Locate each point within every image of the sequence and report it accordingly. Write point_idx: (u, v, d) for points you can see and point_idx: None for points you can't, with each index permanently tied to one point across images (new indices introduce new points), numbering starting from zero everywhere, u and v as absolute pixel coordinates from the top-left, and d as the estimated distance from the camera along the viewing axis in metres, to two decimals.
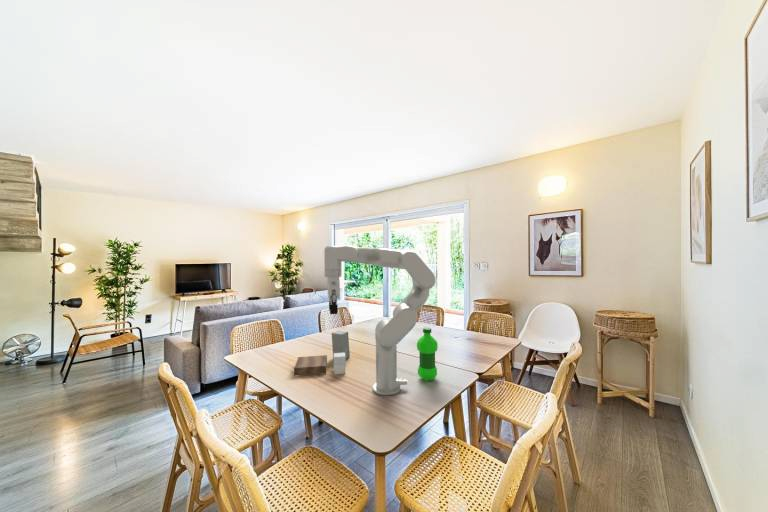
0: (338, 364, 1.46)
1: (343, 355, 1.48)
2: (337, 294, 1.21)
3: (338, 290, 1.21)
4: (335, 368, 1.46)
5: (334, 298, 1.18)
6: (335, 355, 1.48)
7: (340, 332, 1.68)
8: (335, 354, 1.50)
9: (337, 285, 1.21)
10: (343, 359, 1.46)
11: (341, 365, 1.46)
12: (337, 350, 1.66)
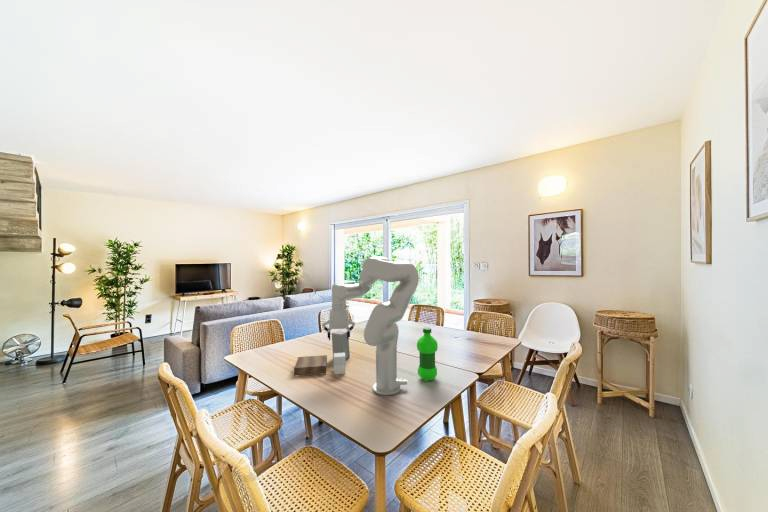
0: (338, 364, 1.46)
1: (343, 355, 1.48)
2: None
3: None
4: (335, 368, 1.46)
5: None
6: (335, 355, 1.48)
7: (340, 332, 1.68)
8: (335, 354, 1.50)
9: None
10: (343, 359, 1.46)
11: (341, 365, 1.46)
12: (337, 350, 1.66)
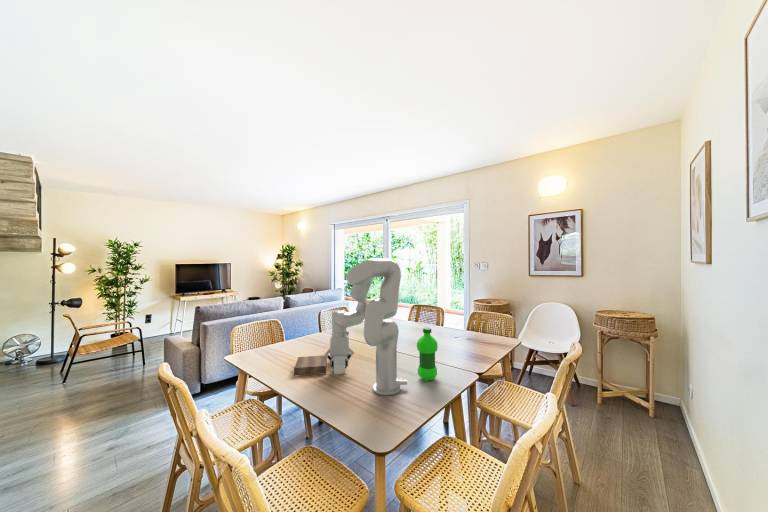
0: (338, 364, 1.46)
1: None
2: None
3: None
4: (335, 368, 1.46)
5: None
6: None
7: None
8: None
9: None
10: (343, 359, 1.46)
11: (341, 365, 1.46)
12: None
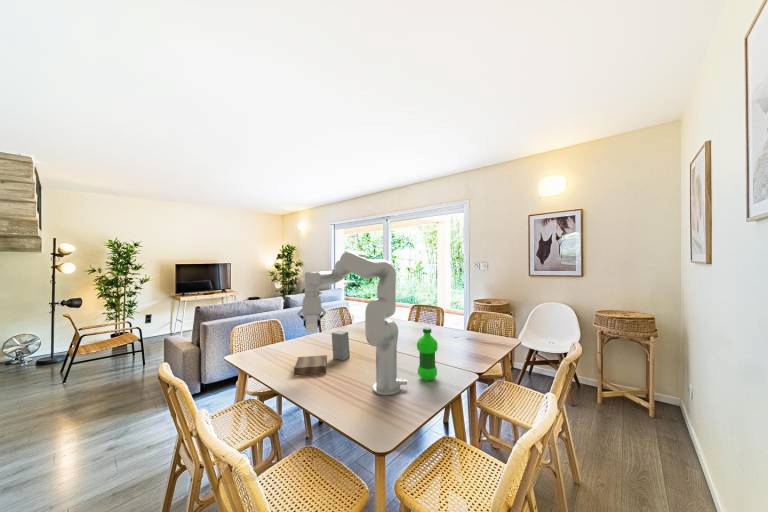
0: (310, 322, 1.50)
1: None
2: None
3: None
4: (307, 326, 1.50)
5: None
6: None
7: (340, 332, 1.68)
8: None
9: None
10: (315, 318, 1.51)
11: (313, 323, 1.51)
12: (337, 350, 1.66)
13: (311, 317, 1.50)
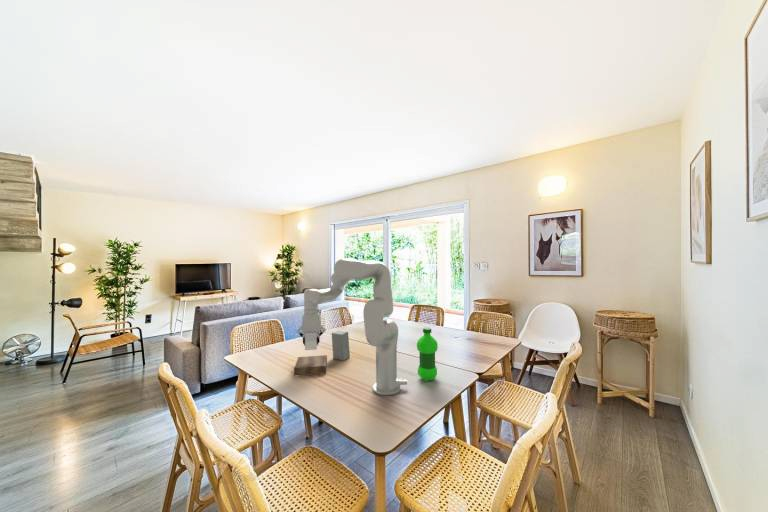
0: (309, 340, 1.50)
1: (314, 332, 1.52)
2: None
3: None
4: (306, 344, 1.50)
5: (324, 331, 1.55)
6: None
7: (340, 332, 1.68)
8: None
9: (320, 319, 1.56)
10: (314, 335, 1.51)
11: (313, 341, 1.51)
12: (337, 350, 1.66)
13: (310, 335, 1.51)
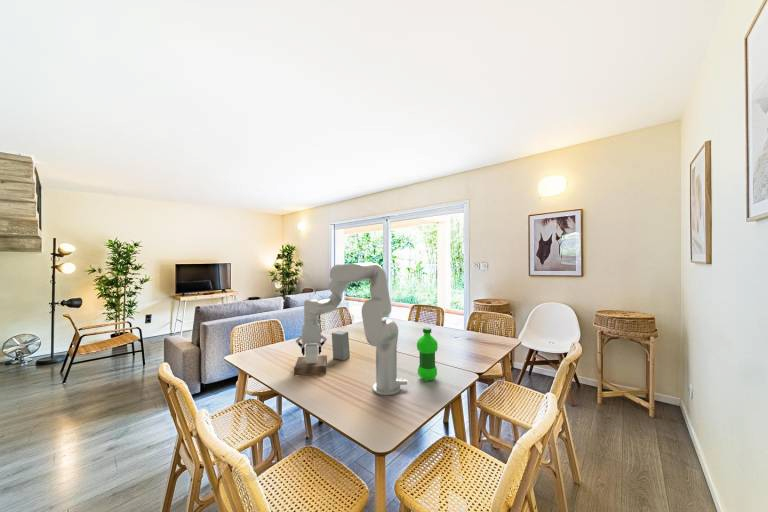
0: (310, 354, 1.50)
1: (315, 345, 1.52)
2: None
3: None
4: (306, 357, 1.50)
5: (325, 340, 1.55)
6: (307, 345, 1.53)
7: (340, 332, 1.68)
8: (307, 344, 1.54)
9: (320, 329, 1.56)
10: (315, 349, 1.51)
11: (313, 354, 1.51)
12: (337, 350, 1.66)
13: (311, 348, 1.50)
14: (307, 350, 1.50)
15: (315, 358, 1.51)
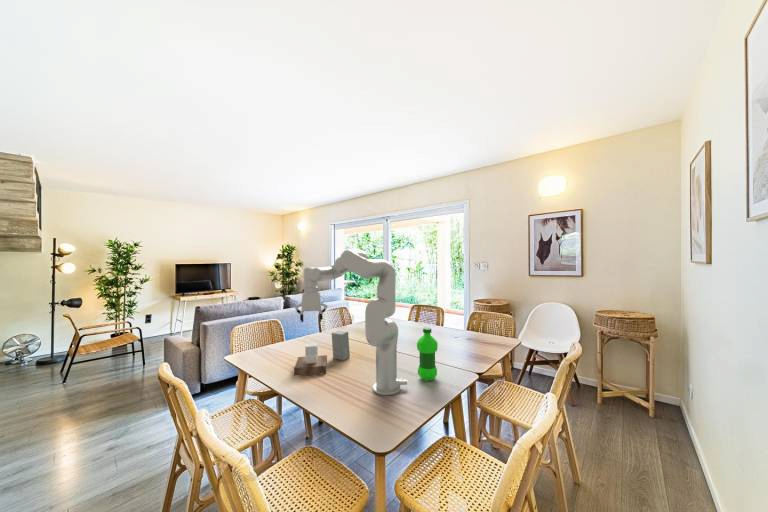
0: (310, 354, 1.50)
1: (315, 345, 1.52)
2: None
3: None
4: (306, 357, 1.50)
5: (326, 307, 1.55)
6: (307, 345, 1.53)
7: (340, 332, 1.68)
8: (307, 344, 1.54)
9: (320, 298, 1.56)
10: (315, 349, 1.51)
11: (313, 354, 1.51)
12: (337, 350, 1.66)
13: (311, 348, 1.50)
14: (307, 350, 1.50)
15: (315, 358, 1.51)
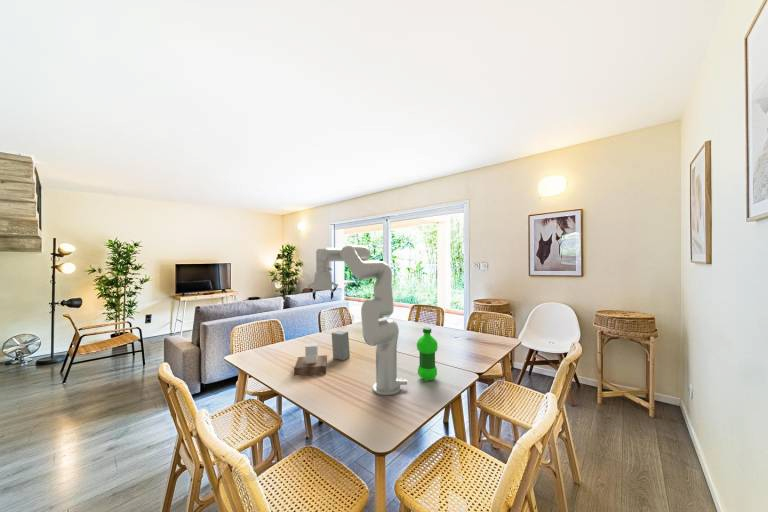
0: (310, 354, 1.50)
1: (315, 345, 1.52)
2: None
3: None
4: (306, 357, 1.50)
5: (337, 286, 1.65)
6: (307, 345, 1.53)
7: (340, 332, 1.68)
8: (307, 344, 1.54)
9: (331, 278, 1.66)
10: (315, 349, 1.51)
11: (313, 354, 1.51)
12: (337, 350, 1.66)
13: (311, 348, 1.50)
14: (307, 350, 1.50)
15: (315, 358, 1.51)
